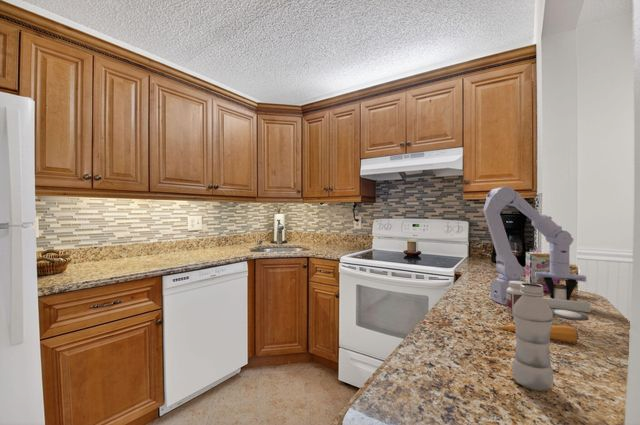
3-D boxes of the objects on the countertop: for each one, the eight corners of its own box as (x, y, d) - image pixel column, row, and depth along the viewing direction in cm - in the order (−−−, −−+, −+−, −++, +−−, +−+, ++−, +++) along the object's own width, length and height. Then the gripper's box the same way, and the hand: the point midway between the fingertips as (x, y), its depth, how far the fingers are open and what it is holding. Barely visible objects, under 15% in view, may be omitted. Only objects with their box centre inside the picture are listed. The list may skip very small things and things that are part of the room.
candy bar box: (530, 291, 125) (530, 253, 125) (525, 288, 130) (524, 251, 130) (560, 292, 123) (560, 254, 123) (554, 289, 127) (553, 252, 127)
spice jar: (559, 305, 106) (559, 286, 106) (550, 302, 110) (549, 284, 110) (569, 305, 106) (569, 286, 106) (560, 302, 110) (559, 283, 110)
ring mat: (567, 320, 91) (567, 319, 91) (541, 310, 101) (541, 309, 101) (596, 319, 92) (596, 318, 92) (567, 309, 102) (567, 307, 102)
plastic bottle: (504, 377, 61) (503, 281, 61) (535, 375, 61) (534, 280, 61) (529, 397, 54) (528, 290, 54) (563, 394, 55) (562, 288, 55)
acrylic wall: (590, 312, 99) (590, 303, 99) (539, 306, 106) (538, 297, 106) (589, 311, 99) (589, 302, 99) (538, 305, 106) (538, 297, 106)
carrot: (578, 345, 77) (575, 327, 79) (580, 344, 74) (576, 325, 75) (491, 335, 88) (490, 319, 90) (489, 334, 85) (488, 318, 87)
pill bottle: (532, 315, 96) (532, 282, 96) (524, 319, 93) (523, 285, 93) (511, 310, 101) (511, 279, 101) (503, 314, 98) (502, 281, 98)
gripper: (582, 262, 108) (582, 298, 108) (533, 259, 115) (534, 293, 115) (587, 265, 102) (588, 303, 102) (536, 262, 109) (536, 298, 109)
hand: (559, 298), depth 108 cm, fingers closed on spice jar, 4 cm apart
